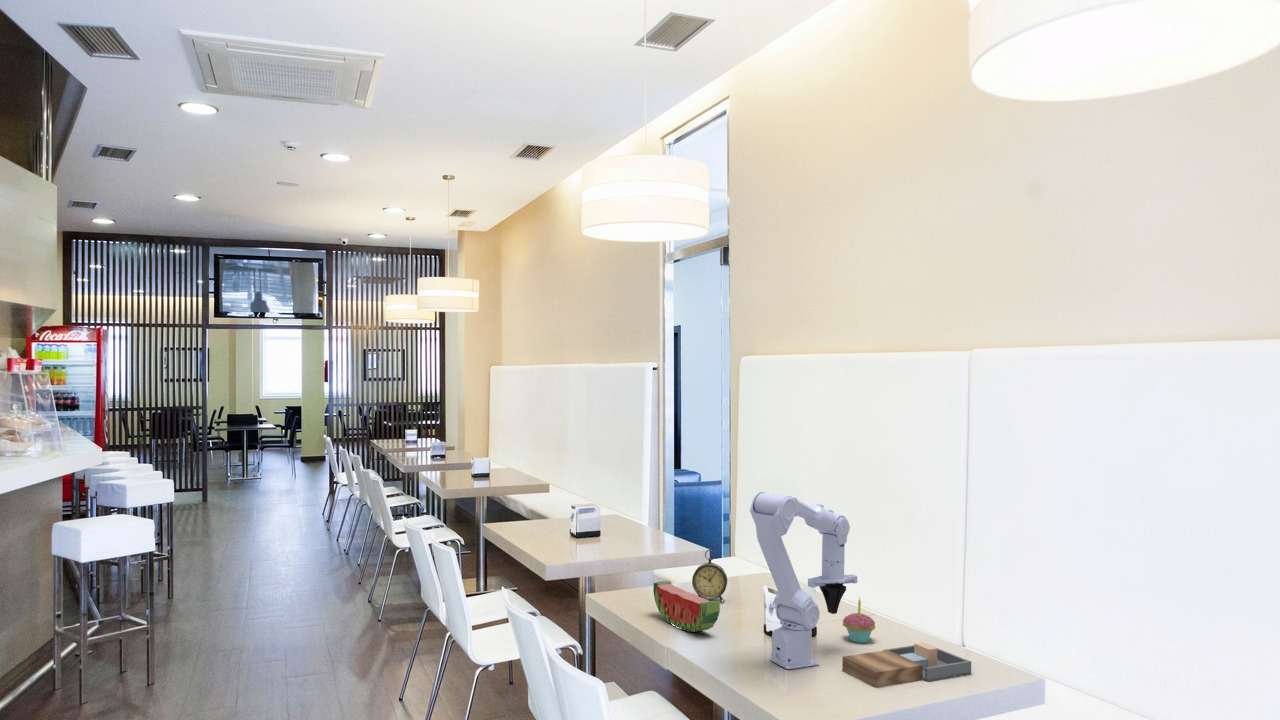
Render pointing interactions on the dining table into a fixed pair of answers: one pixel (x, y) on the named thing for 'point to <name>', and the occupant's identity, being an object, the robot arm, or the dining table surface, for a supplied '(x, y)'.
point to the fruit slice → (685, 607)
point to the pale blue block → (917, 659)
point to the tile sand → (926, 653)
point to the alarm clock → (709, 580)
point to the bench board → (882, 668)
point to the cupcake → (859, 626)
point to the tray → (940, 664)
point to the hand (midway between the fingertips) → (832, 612)
